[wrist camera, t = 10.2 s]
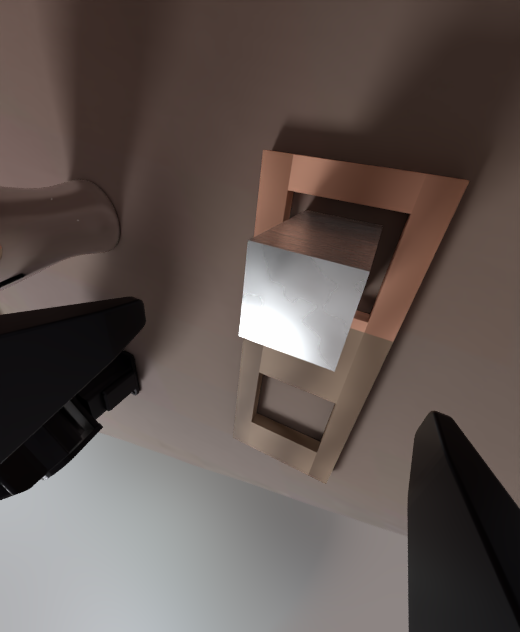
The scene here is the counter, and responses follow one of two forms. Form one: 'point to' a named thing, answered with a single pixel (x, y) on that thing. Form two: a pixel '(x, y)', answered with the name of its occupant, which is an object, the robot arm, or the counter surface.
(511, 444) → the counter surface
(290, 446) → the brown flat frame piece
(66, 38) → the counter surface
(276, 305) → the square peg
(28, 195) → the beer glass
